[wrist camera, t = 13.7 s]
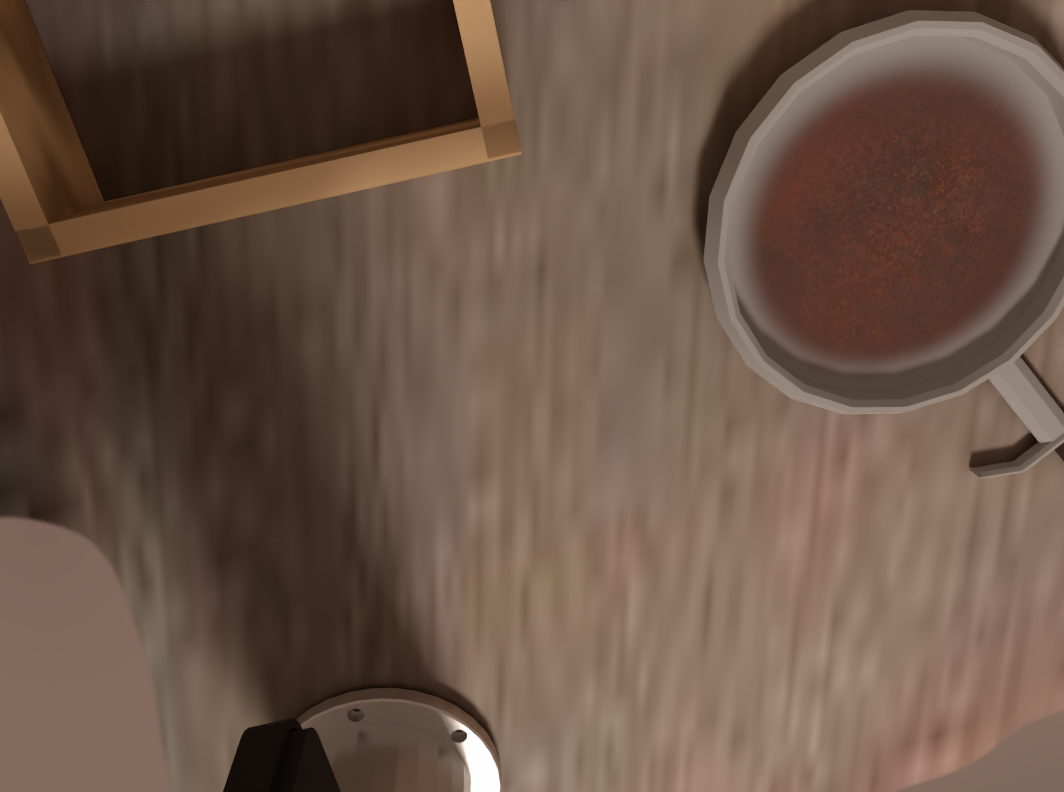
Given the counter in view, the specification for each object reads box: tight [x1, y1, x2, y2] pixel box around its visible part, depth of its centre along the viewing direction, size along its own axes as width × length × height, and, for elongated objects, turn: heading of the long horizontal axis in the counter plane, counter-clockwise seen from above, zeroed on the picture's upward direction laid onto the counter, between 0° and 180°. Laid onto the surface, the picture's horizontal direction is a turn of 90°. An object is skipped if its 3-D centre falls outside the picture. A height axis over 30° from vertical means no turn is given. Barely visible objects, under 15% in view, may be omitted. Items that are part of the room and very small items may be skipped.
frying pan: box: [703, 10, 1064, 479], centre depth 38 cm, size 17×3×28 cm
